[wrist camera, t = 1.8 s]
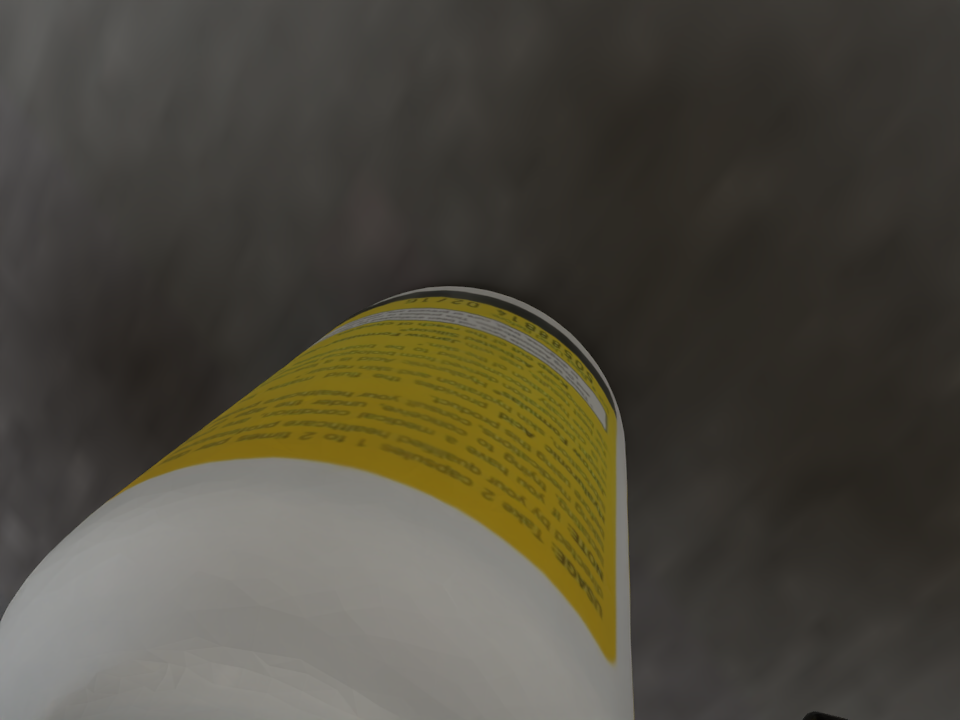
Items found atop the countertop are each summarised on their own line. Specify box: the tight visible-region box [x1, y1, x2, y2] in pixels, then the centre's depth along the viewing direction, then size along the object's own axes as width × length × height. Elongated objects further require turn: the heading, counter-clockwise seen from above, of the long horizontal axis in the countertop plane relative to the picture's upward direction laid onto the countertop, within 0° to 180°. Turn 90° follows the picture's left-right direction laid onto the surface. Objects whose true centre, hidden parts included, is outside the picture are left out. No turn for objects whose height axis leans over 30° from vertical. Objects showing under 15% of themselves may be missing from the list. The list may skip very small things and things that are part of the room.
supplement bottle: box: [0, 286, 634, 720], centre depth 8 cm, size 5×5×10 cm
